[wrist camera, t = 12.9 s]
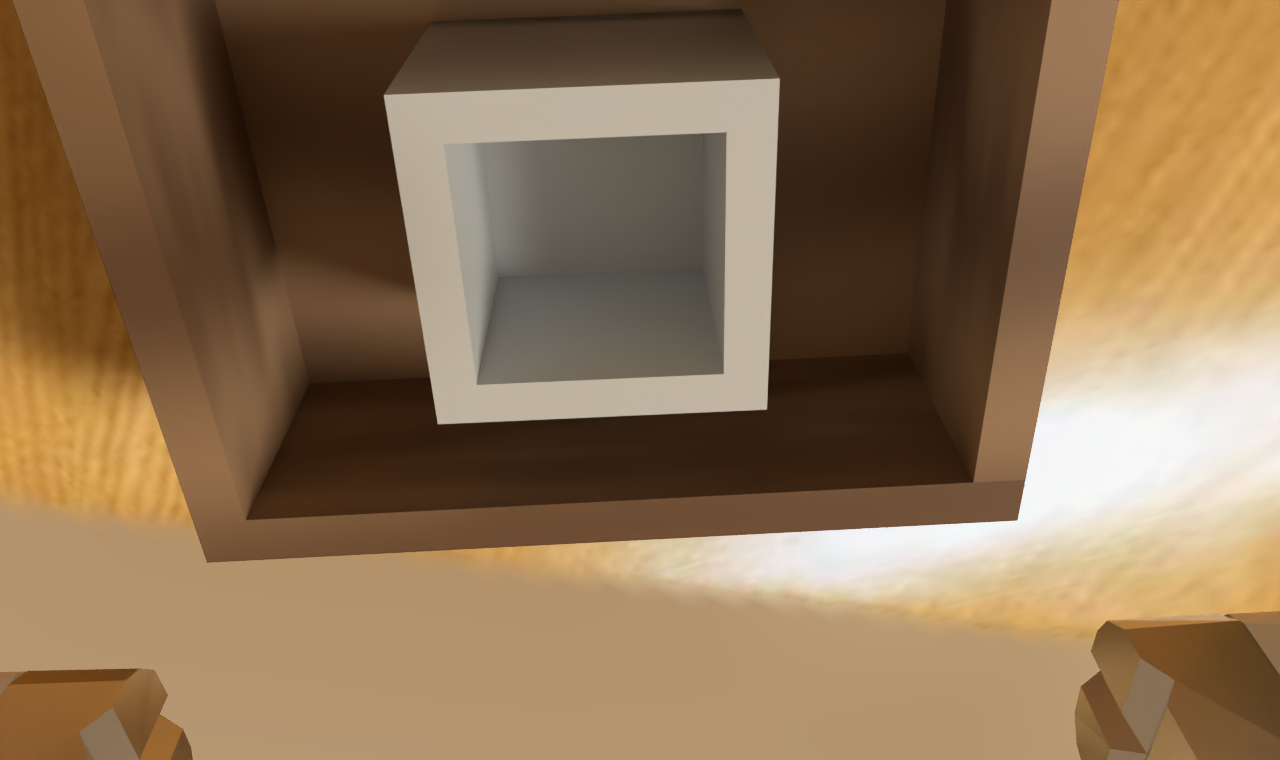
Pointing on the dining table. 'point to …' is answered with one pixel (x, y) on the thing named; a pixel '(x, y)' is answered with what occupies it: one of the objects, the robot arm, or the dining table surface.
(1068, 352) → the dining table surface
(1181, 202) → the dining table surface
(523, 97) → the box
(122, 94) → the big crate
